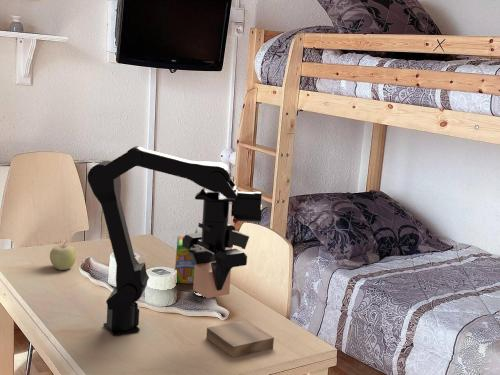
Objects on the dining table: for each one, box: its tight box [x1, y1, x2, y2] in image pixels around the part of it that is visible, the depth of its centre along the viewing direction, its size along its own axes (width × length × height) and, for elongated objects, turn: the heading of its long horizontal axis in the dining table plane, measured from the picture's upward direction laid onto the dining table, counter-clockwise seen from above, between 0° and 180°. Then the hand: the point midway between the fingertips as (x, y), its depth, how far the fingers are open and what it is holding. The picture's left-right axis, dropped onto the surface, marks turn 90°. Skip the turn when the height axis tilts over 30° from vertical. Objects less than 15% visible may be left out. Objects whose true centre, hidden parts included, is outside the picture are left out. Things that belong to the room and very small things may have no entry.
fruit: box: [49, 242, 77, 271], centre depth 186 cm, size 8×7×8 cm
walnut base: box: [205, 319, 275, 358], centre depth 146 cm, size 11×11×2 cm
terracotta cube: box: [192, 262, 232, 299], centre depth 146 cm, size 6×6×6 cm
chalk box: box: [174, 228, 199, 285], centre depth 185 cm, size 9×9×15 cm
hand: (211, 285), depth 146 cm, fingers closed on terracotta cube, 6 cm apart
